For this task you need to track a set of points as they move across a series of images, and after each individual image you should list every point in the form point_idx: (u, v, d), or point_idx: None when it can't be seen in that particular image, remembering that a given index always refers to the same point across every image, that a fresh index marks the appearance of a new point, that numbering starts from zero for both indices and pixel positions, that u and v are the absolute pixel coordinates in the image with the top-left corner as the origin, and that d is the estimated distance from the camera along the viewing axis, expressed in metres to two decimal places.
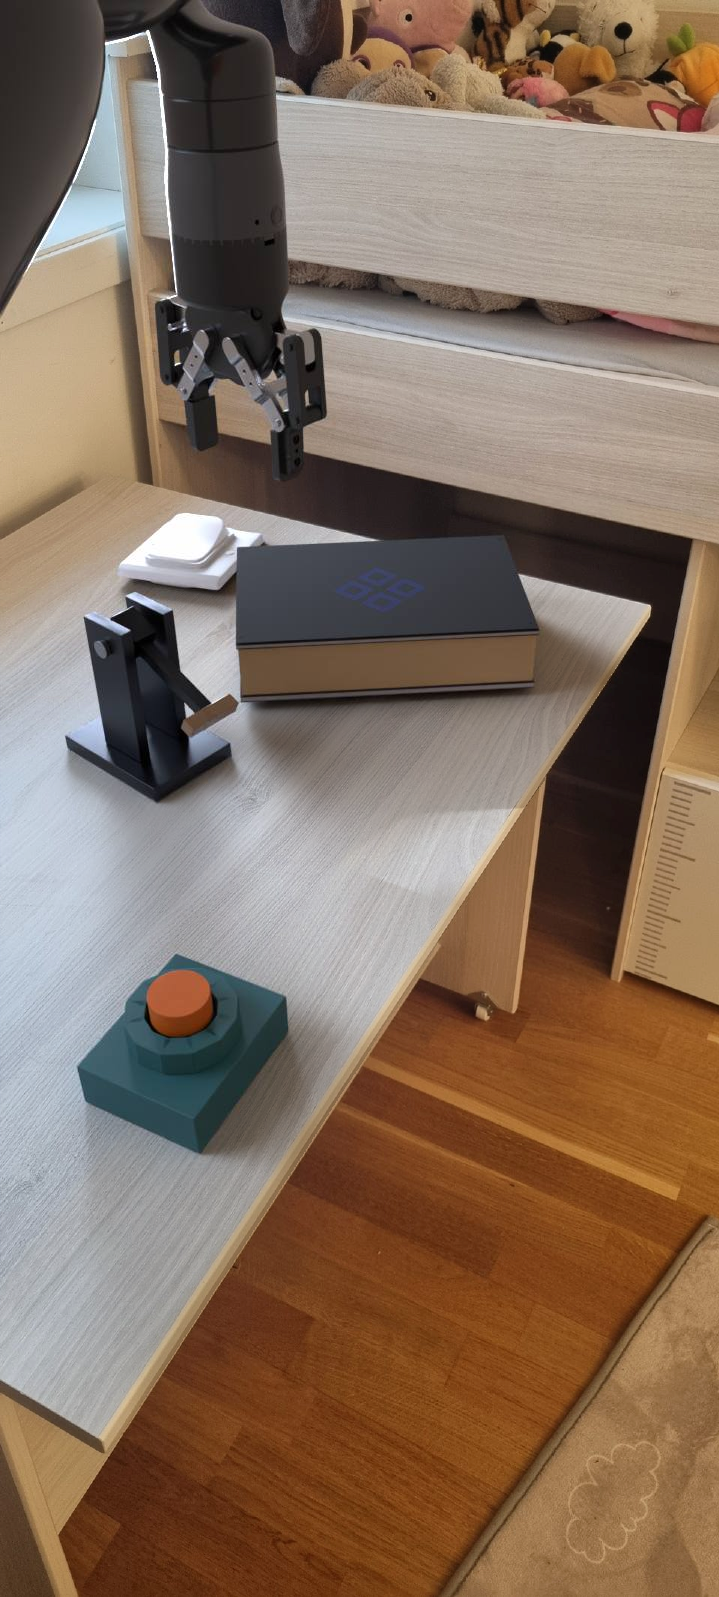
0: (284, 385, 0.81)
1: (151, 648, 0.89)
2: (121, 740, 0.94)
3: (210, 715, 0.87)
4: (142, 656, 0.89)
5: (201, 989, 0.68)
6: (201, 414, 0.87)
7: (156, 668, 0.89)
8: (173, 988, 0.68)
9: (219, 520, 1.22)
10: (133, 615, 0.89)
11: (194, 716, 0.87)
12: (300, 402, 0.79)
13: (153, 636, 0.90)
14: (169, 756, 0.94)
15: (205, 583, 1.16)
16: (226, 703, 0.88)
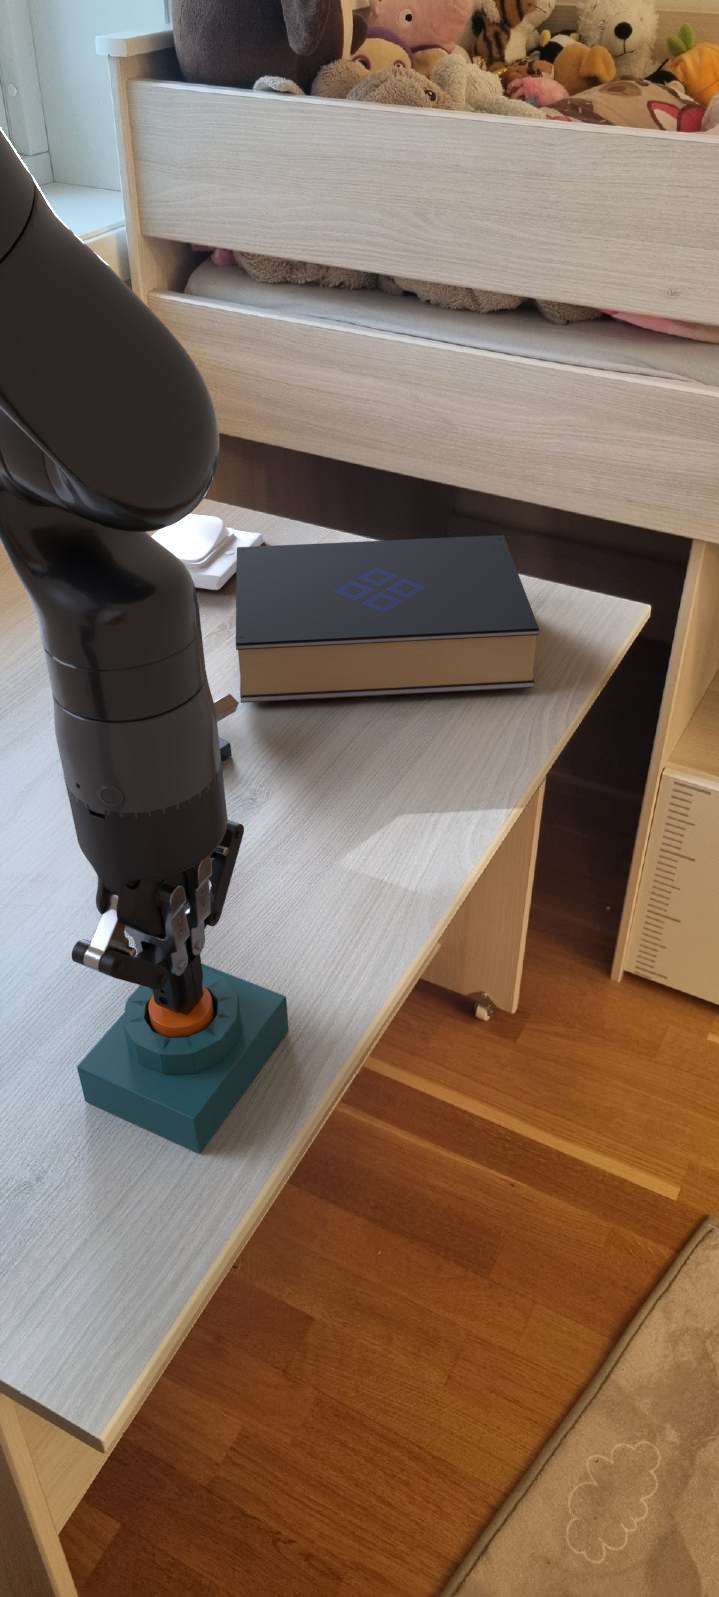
0: (157, 944, 0.63)
1: None
2: None
3: None
4: None
5: (202, 999, 0.68)
6: None
7: None
8: None
9: (219, 520, 1.22)
10: None
11: None
12: None
13: None
14: None
15: (205, 583, 1.16)
16: (226, 703, 0.88)
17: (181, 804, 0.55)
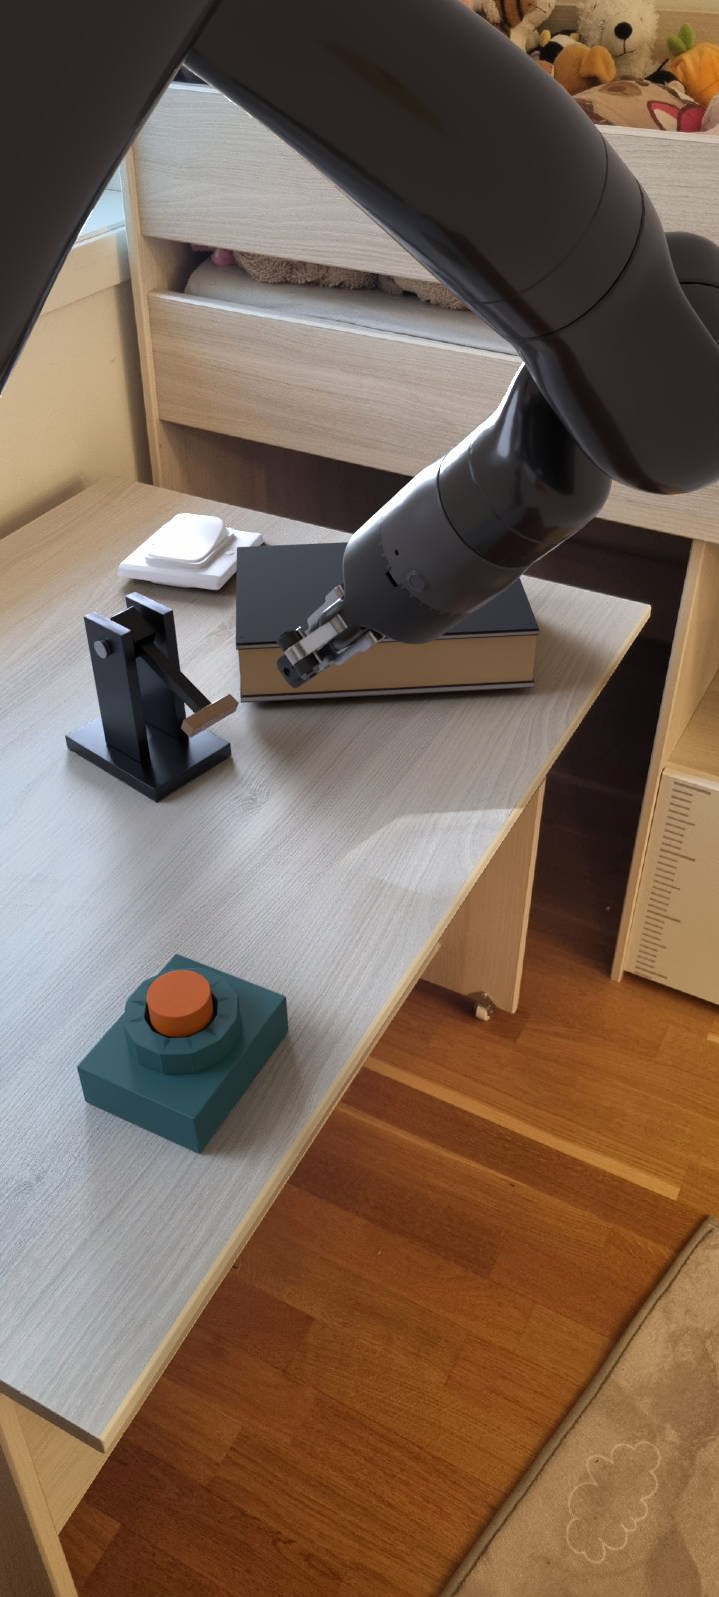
0: (326, 647, 0.72)
1: (151, 648, 0.89)
2: (121, 740, 0.94)
3: (210, 715, 0.87)
4: (142, 656, 0.89)
5: (201, 989, 0.68)
6: None
7: (156, 668, 0.89)
8: (173, 988, 0.68)
9: (219, 520, 1.22)
10: (133, 615, 0.89)
11: (194, 716, 0.87)
12: None
13: (153, 636, 0.90)
14: (169, 756, 0.94)
15: (205, 583, 1.16)
16: (226, 703, 0.88)
17: (454, 615, 0.63)
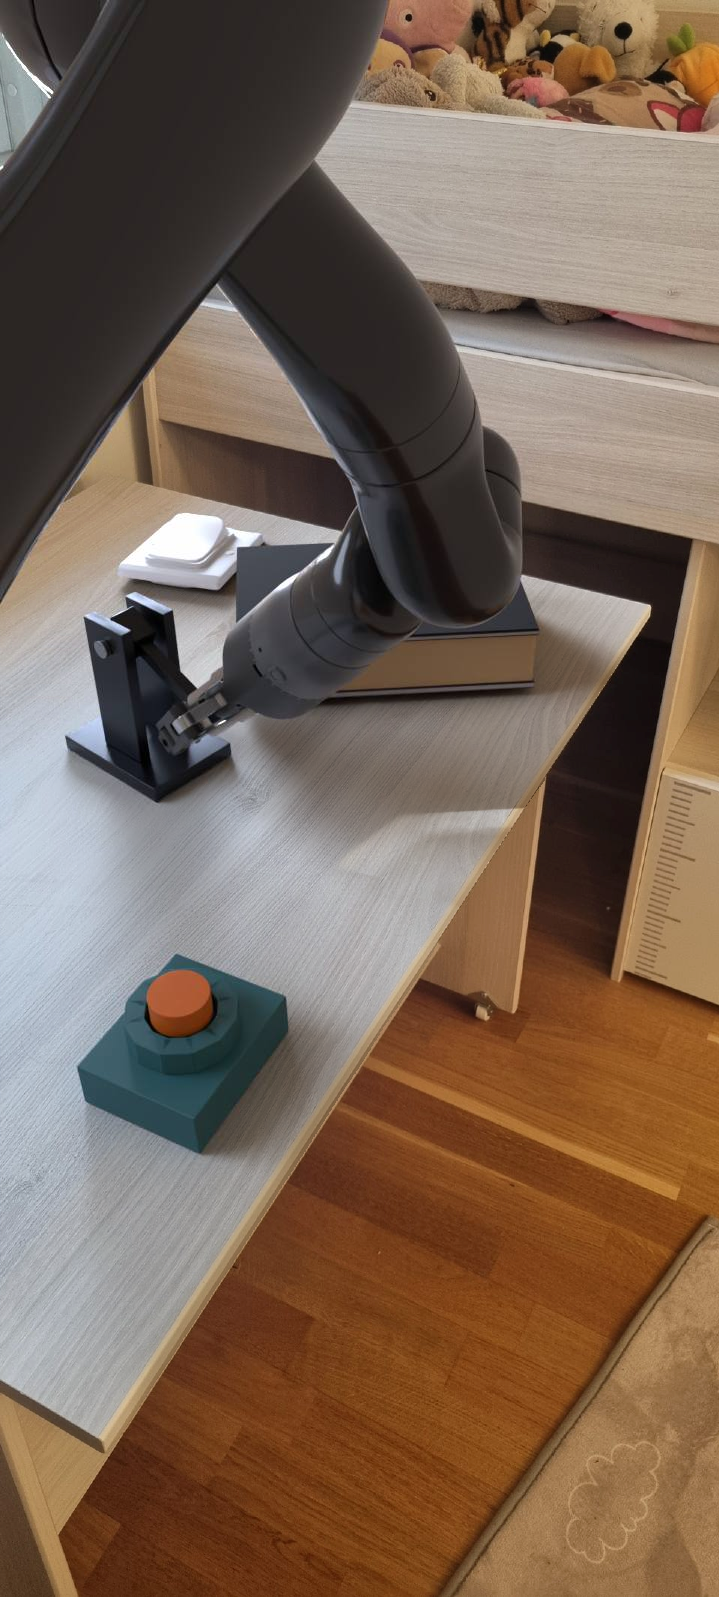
0: (203, 721, 0.83)
1: (151, 648, 0.89)
2: (121, 740, 0.94)
3: None
4: (142, 656, 0.89)
5: (201, 989, 0.68)
6: None
7: (156, 668, 0.89)
8: (173, 988, 0.68)
9: (219, 520, 1.22)
10: (133, 615, 0.89)
11: None
12: (159, 721, 0.82)
13: (153, 636, 0.90)
14: (169, 756, 0.94)
15: (205, 583, 1.16)
16: None
17: (311, 699, 0.76)
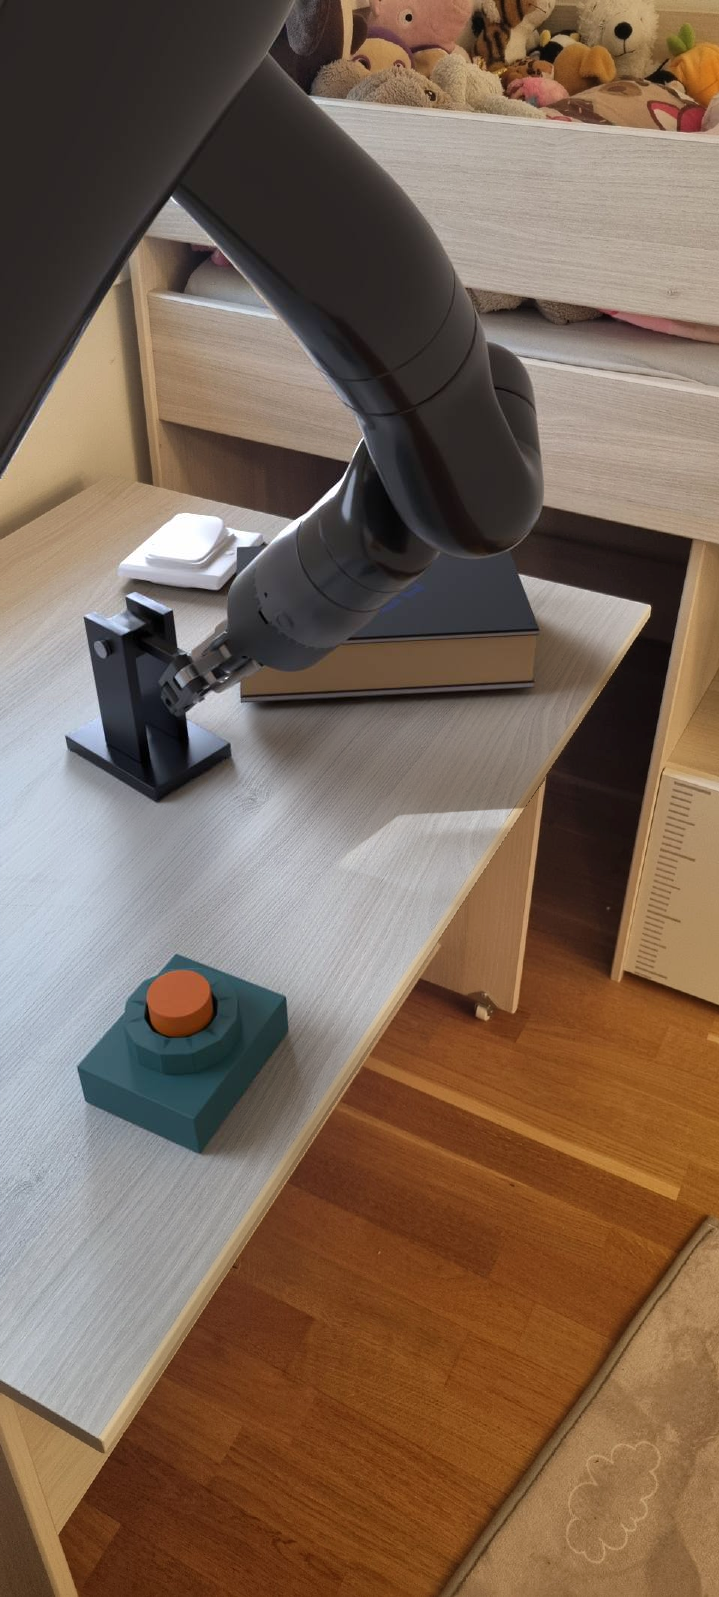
0: (207, 677, 0.80)
1: (150, 637, 0.89)
2: (121, 740, 0.94)
3: None
4: (143, 648, 0.89)
5: (201, 989, 0.68)
6: None
7: (157, 653, 0.88)
8: (173, 988, 0.68)
9: (219, 520, 1.22)
10: (129, 614, 0.90)
11: None
12: None
13: (151, 628, 0.89)
14: (169, 756, 0.94)
15: (205, 583, 1.16)
16: None
17: (319, 648, 0.73)
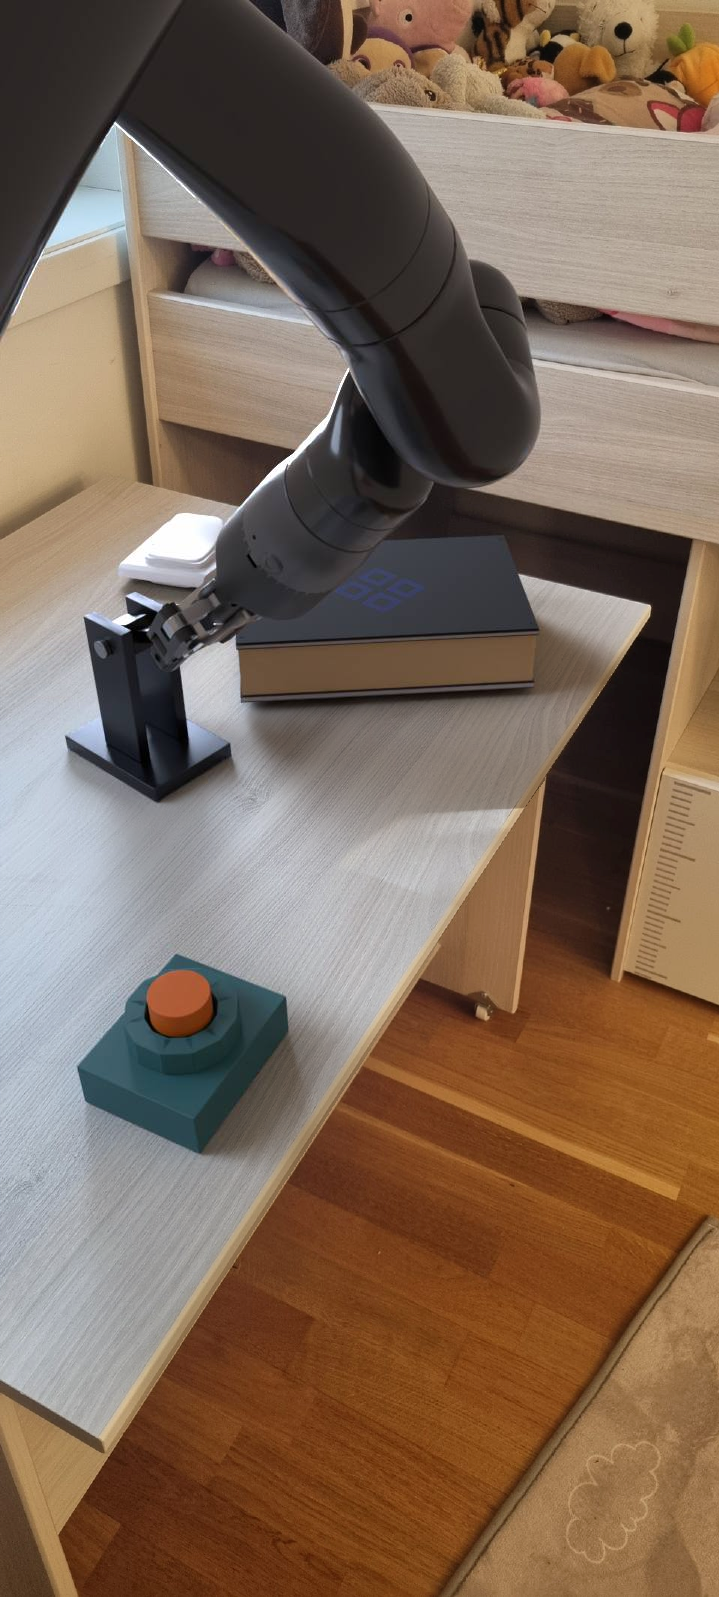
0: (197, 629, 0.78)
1: (146, 627, 0.88)
2: (121, 740, 0.94)
3: None
4: (142, 639, 0.88)
5: (201, 989, 0.68)
6: None
7: None
8: (173, 988, 0.68)
9: (219, 520, 1.22)
10: (126, 616, 0.90)
11: None
12: None
13: (147, 621, 0.89)
14: (169, 756, 0.94)
15: None
16: None
17: (310, 593, 0.71)
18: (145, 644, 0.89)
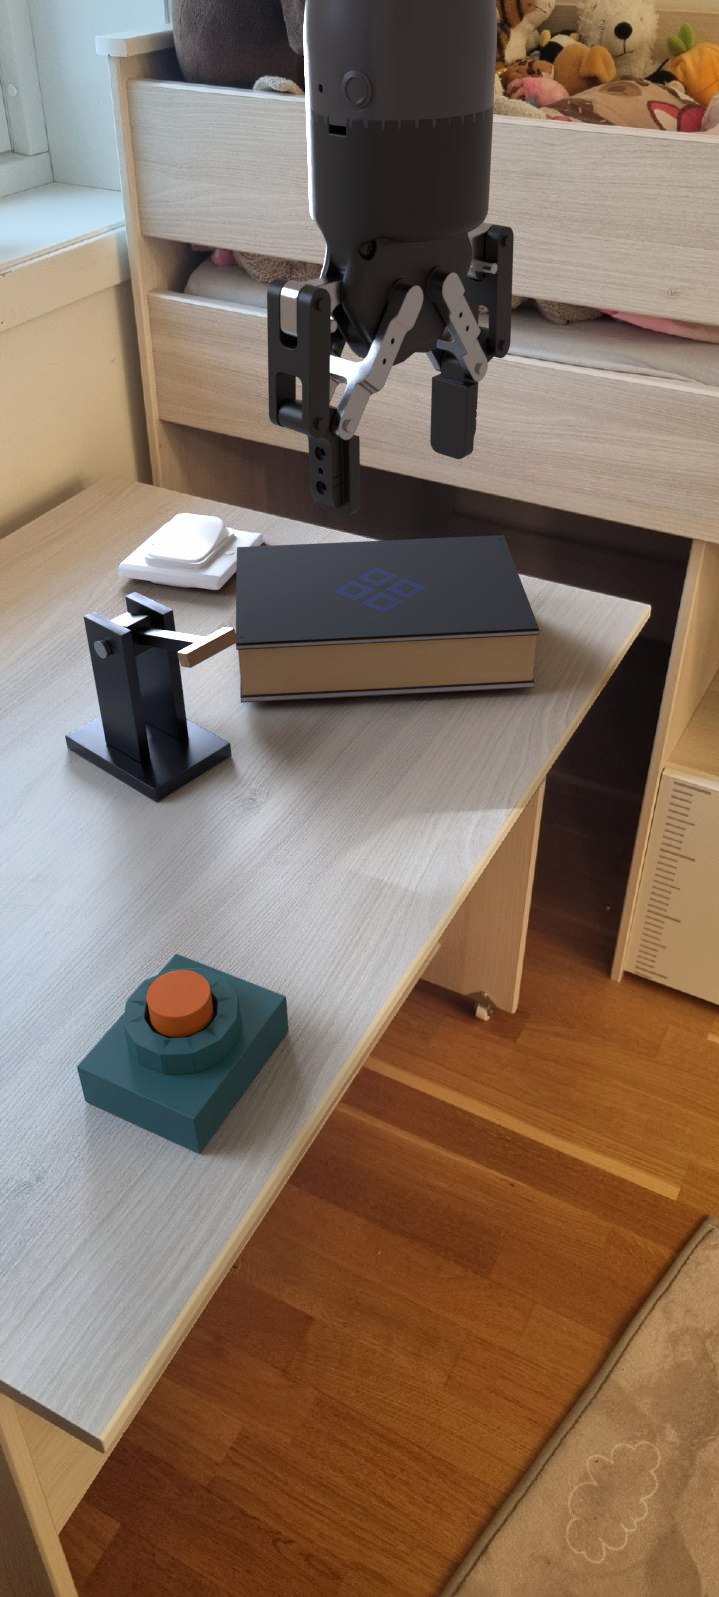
0: (344, 372, 0.51)
1: (147, 630, 0.88)
2: (121, 740, 0.94)
3: (204, 642, 0.83)
4: (142, 642, 0.88)
5: (201, 989, 0.68)
6: (443, 401, 0.58)
7: (154, 641, 0.87)
8: (173, 988, 0.68)
9: (219, 520, 1.22)
10: (126, 615, 0.90)
11: (187, 647, 0.83)
12: (268, 382, 0.50)
13: (148, 623, 0.89)
14: (169, 756, 0.94)
15: (205, 583, 1.16)
16: (220, 631, 0.85)
17: (439, 121, 0.45)
18: (145, 646, 0.89)
